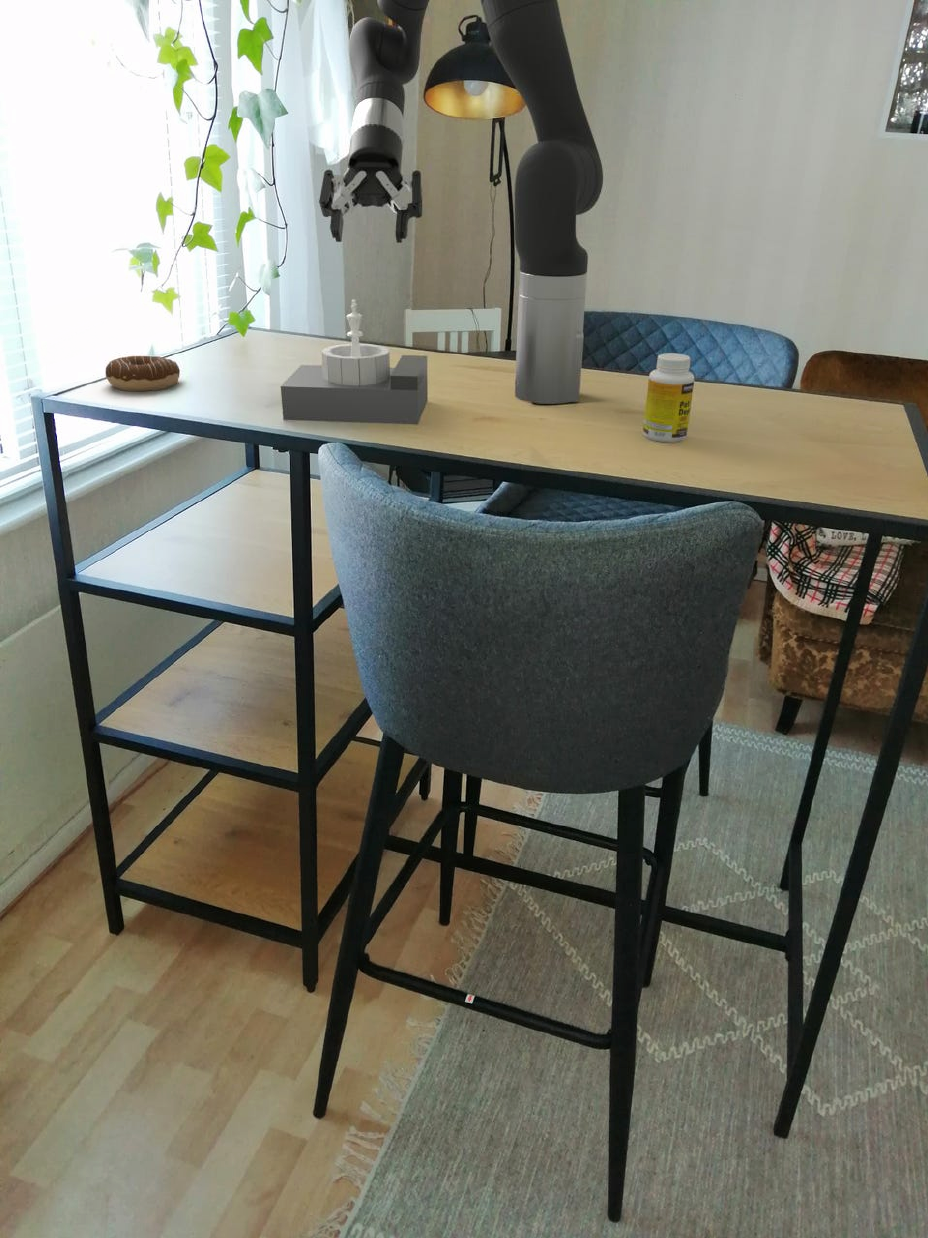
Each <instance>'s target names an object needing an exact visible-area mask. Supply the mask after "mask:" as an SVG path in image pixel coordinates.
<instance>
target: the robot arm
mask: <svg viewBox="0 0 928 1238" xmlns="http://www.w3.org/2000/svg"><path fill="white" fill-rule="evenodd" d="M376 1H377V5H378V8H379V10H380V11H381V12H382V13H383V15H384V16H385V17H387V18H388V19H389V20H391V22H394V24H395V25H397V26H399V27H397V26H394V25H392V24H389V23H386V22H383V21H382V20H379V19H376V18H374V17H364V18H361V19H359V20H358V21H357V22H356V23H355V24H354V26H353V27H352V29H351V32H350V35H349V41H348V54H349V55H348V56H349V62H350V66H351V71H352V75H353V78H354V84H355V88H356V89H355V90H356V94H355V95H356V98H355V106H354V107H355V108H354V114H353V118H352V123H351V129H350V140H349V141H350V142H349V149H348V150H349V151H348V160H347V169H346V171H345V172H344V174H334V173H333V171H332V170H331V169H326V170H325V171H324V173H323V177H322V184H321V189H320V194H319V199H318V200H319V201H318V204H319V207H320V210H321V211H320V212H321V214H322V216H323V217H325V218H329V217H330V225H329V229H330V233H331V236H332V239H335V243H336V242H337V243H342V241H343V232H344V223H345V221H344V218H345V217H346V216H347V215H348V214H349V213H353V212H354V211H356V209H357V208H358V207H359V206H361V207H364V208H365V207H367V208H368V207H372V206H374V207H378V208H379V207H381V208H383V207H384V206H385V205H387V207H389V209H390V210H391V211H392V212H393V213H394V214H396V220H395V221H396V222H395V239H396V243H398V244H399V243H401V244H402V243H403V240H404V239H407V237H408V228H409V220H410V219H411V218H416V219H420V218H422V217H423V182H422V181H423V180H422V173H421V171H419V170H414V171H412V175H402V160H403V148H404V145H405V140H404V138H405V137H404V136H405V131H404V129H405V128H404V115H405V102H406V92H405V88H404V86H405V85H407V84H408V83H410V82H411V81H412V80H413V79H414V78H415V77H416V74H417V73H418V70H419V65H420V59H421V38H422V31H423V24H424V20H425V15H426V12H427V9H428V6H429V3H430V0H376ZM480 3H481V7H482V11H483V12H482V13H483V15H484V20H485V23H486V24H485V25H486V28H487V31H488V35H489V39H490V40H491V44H492V47H493V49H494V51H495V54H496V56H497V58H498V60H499V61H500V63H501V65H502V67H503V69H504V71H505V72H506V74H507V76H508V77H509V78H510V80H511V82H512V83H513V85H514V87H515V88H516V90H517V92H518V93H519V95H520V96H521V98H522V99H523V102H524V104H525V106H526V108H527V109H528V112H529V115H530V116H531V120H532V124H533V127H534V130H535V131H534V132H535V135H536V139H537V142H536V143H534V144H533V145H531V146H529V147H528V149H527V150H526V151H525V152H524V153H523V154H522V156H521V158H520V161H519V163H518V166H517V169H516V175H515V180H514V181H515V182H514V243H515V248H516V252H517V254H518V259H519V281H518V283H519V284H518V306H517V307H518V309H517V330H516V331H517V332H516V334H517V335H516V354H515V356H516V357H515V360H516V361H515V379H514V382H515V383H514V387H515V388H514V396H515V397H516V398H517V399H519V400H521V401H524V402H529V403H534V404H542V405H554V404H555V405H556V404H557V405H558V404H566V403H579V401H580V392H581V391H580V389H581V378H582V375H581V374H582V362H583V349H584V331H583V330H584V319H585V318H584V317H585V302H586V289H587V288H586V287H587V276H588V275H587V274H588V273H587V272H588V261H589V255H588V251H587V249H585V248H583V246H581V245H580V243H579V241H578V238H577V216H580V215H583V214H585V213H588V211H590V210H591V209H593V207H594V206H595V205H596V204H597V202H598V201H599V199H600V196H601V194H602V190H603V184H604V169H603V165H602V159H601V157H600V154H599V150H598V147H597V144H596V141H595V139H594V135H593V133H592V130H591V127H590V124H589V121H588V118H587V115H586V112H585V109H584V107H583V103H582V100H581V96H580V93H579V90H578V86H577V81H576V78H575V73H574V69H573V63H572V59H571V55H570V51H569V47H568V43H567V39H566V34H565V31H564V27H563V23H562V17H561V13H560V12H561V10H560V7H559V2H558V0H480ZM342 186H344V188H343V189H342V190H341V192H340V195H339V196H338V197H337V198H336V199H335V200H334V197H335V194H338V191H339V190H340V187H342ZM403 187H406V189H407V191H408V192H410V194H411V199H412V200H411V202H409V203H407V202H406V201H405V199H404V198H403V197H402V195H401V194H400V191H401V190H402V189H403Z"/></svg>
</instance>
